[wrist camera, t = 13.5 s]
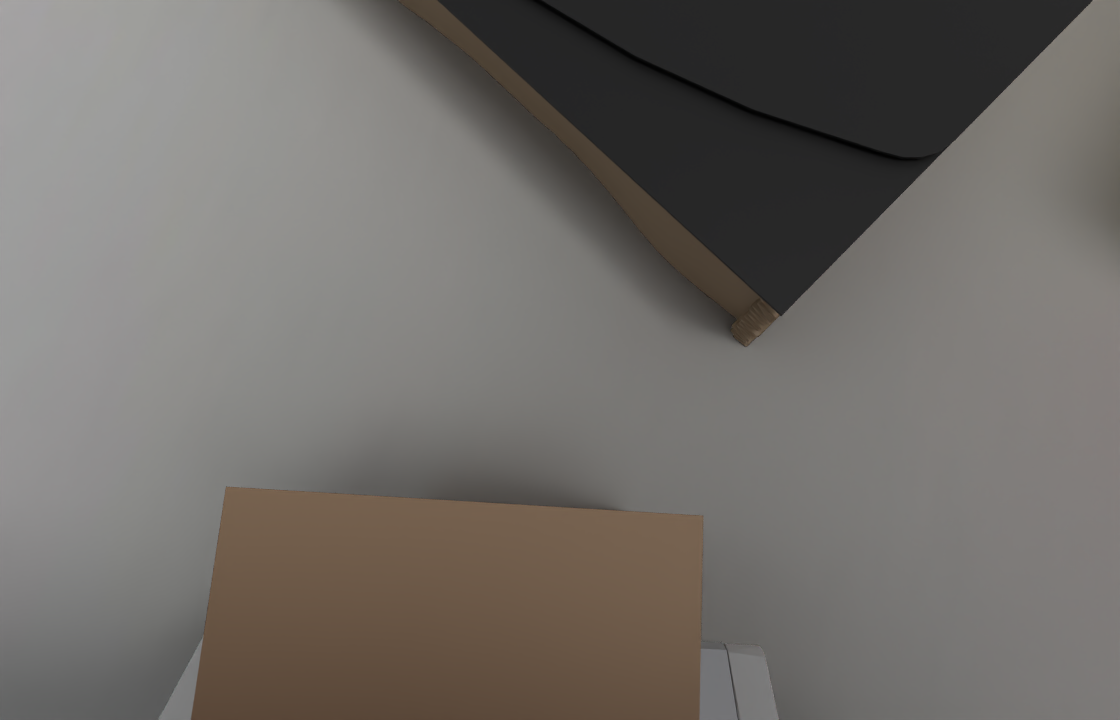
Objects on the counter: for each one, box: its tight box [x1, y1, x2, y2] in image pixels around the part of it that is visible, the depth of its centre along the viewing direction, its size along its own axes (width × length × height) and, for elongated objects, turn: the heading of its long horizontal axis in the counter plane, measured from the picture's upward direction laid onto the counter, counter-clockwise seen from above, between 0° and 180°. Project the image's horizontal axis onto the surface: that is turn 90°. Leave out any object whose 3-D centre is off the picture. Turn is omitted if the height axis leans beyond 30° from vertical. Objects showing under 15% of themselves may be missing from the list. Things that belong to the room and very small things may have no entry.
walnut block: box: [191, 487, 703, 720], centre depth 11 cm, size 4×4×9 cm
